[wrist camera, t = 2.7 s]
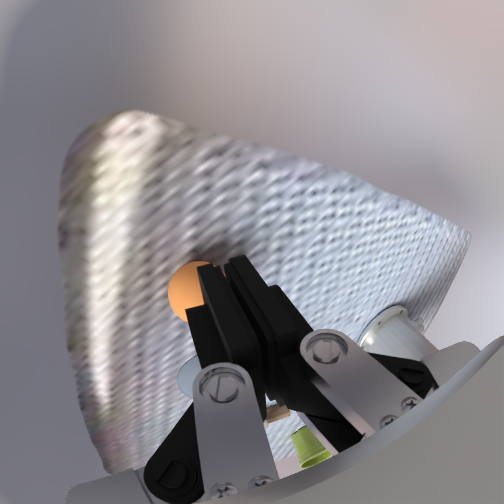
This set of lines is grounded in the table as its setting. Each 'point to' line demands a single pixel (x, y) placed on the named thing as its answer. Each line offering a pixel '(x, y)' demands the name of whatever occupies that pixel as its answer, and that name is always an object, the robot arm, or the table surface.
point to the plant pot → (309, 448)
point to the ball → (186, 289)
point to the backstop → (276, 413)
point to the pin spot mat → (188, 376)
